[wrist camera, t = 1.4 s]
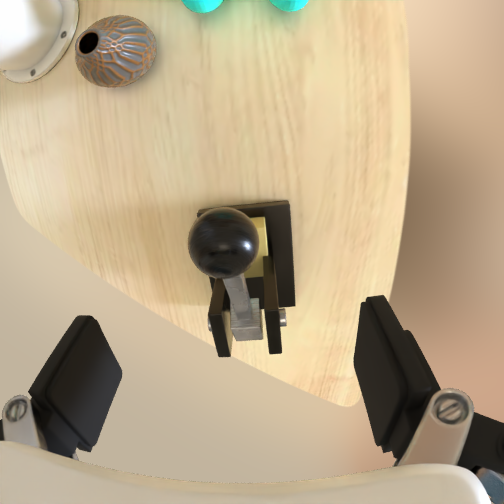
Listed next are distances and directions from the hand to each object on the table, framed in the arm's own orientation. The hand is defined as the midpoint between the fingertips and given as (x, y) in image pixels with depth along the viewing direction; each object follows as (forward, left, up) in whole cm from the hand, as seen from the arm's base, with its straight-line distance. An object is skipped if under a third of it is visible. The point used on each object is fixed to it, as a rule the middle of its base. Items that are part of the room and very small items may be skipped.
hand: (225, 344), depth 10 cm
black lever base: (+8, -1, -22) cm, 23 cm away
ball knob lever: (+3, -1, -10) cm, 11 cm away
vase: (-15, -10, -22) cm, 28 cm away
